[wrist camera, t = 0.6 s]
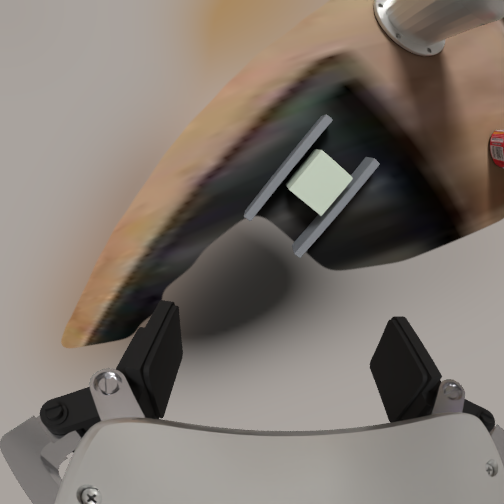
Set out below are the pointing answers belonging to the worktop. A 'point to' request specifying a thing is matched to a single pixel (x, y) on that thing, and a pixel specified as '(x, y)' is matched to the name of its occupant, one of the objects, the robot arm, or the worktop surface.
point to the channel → (335, 208)
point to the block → (319, 181)
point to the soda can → (497, 147)
